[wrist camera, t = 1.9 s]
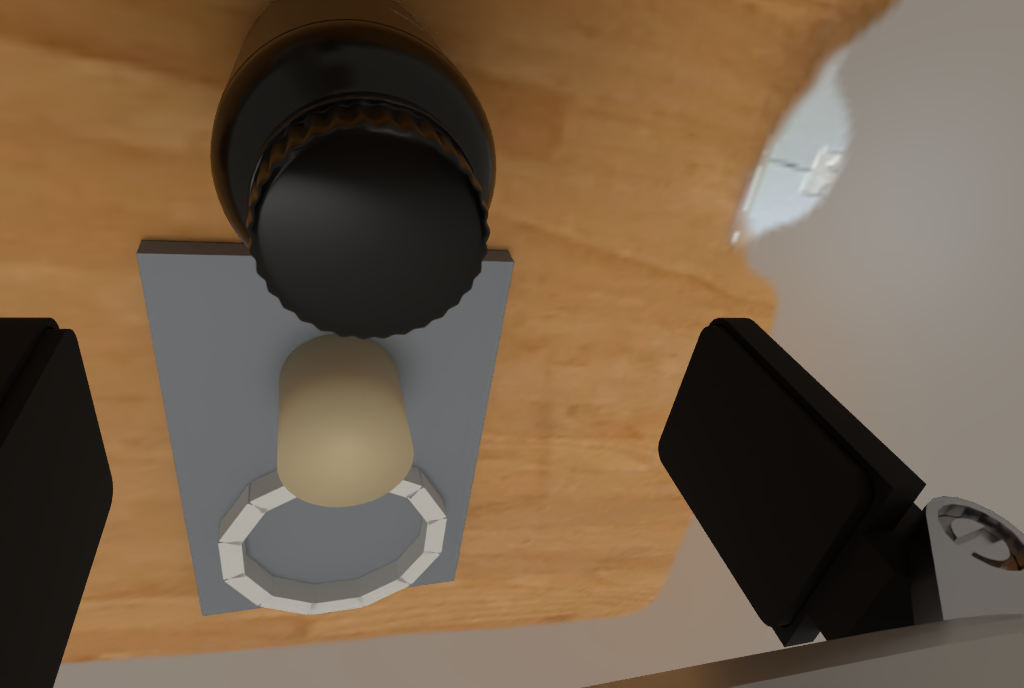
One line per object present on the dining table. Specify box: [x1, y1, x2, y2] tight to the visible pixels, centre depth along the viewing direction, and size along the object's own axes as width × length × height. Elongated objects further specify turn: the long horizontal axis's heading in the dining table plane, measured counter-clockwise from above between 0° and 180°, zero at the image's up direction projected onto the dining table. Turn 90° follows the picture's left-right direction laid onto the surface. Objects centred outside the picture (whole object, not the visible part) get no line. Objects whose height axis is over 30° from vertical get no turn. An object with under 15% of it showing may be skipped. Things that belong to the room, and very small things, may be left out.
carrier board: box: [136, 241, 514, 616], centre depth 29 cm, size 22×14×6 cm, turn 170°
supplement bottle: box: [210, 0, 496, 340], centre depth 17 cm, size 7×7×12 cm
